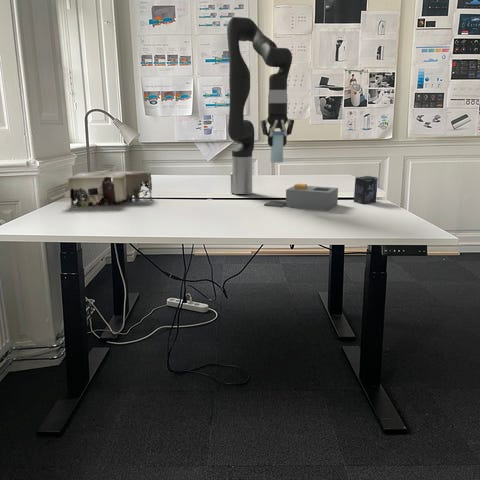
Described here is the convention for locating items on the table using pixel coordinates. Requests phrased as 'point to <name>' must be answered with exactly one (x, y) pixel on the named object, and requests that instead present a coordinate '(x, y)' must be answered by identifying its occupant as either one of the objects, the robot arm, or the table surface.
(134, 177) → the beige boxy piece
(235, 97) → the robot arm
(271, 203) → the mat
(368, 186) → the box
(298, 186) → the orange rectangular block
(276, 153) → the cartridge
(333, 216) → the table surface
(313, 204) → the housing
